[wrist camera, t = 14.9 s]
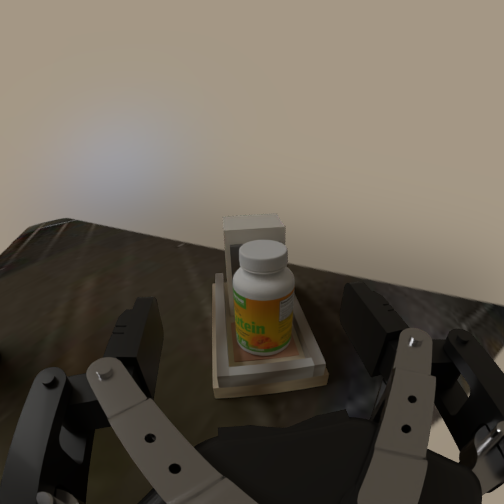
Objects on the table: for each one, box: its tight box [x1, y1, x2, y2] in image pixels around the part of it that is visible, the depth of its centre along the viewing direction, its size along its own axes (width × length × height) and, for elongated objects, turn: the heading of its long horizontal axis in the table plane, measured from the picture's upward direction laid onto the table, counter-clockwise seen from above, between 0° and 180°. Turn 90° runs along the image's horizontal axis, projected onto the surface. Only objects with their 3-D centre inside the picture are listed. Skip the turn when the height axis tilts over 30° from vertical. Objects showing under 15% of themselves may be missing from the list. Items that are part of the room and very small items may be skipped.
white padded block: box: [223, 214, 285, 316], centre depth 32 cm, size 6×5×10 cm
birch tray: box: [212, 273, 329, 399], centre depth 31 cm, size 10×18×3 cm, turn 6°
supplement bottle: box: [233, 240, 295, 356], centre depth 26 cm, size 5×5×10 cm
